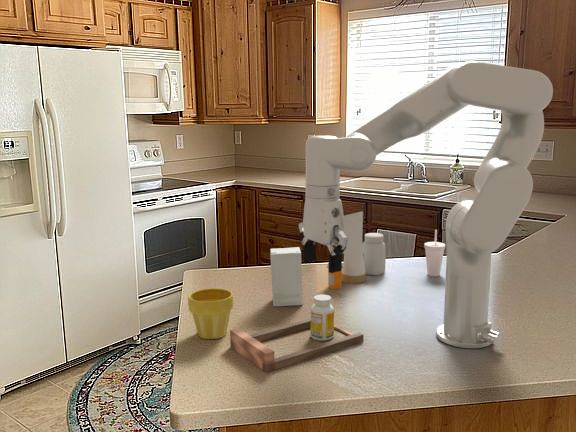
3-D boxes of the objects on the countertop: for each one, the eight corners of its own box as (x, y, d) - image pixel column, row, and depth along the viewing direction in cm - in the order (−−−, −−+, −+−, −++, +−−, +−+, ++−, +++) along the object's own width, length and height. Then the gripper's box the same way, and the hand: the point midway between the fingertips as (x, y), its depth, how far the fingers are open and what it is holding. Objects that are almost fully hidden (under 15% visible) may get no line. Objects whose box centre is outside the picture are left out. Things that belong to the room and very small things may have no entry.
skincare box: (301, 298, 159) (301, 246, 156) (303, 306, 153) (302, 252, 150) (271, 299, 158) (270, 247, 156) (271, 307, 153) (270, 253, 150)
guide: (363, 341, 131) (363, 324, 130) (266, 372, 116) (265, 353, 115) (323, 320, 143) (323, 305, 142) (230, 346, 128) (230, 330, 128)
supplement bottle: (312, 342, 130) (312, 301, 129) (309, 332, 136) (308, 293, 134) (335, 340, 131) (336, 300, 129) (331, 331, 136) (331, 292, 134)
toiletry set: (370, 267, 187) (371, 205, 183) (390, 272, 182) (391, 208, 178) (319, 286, 169) (319, 217, 165) (339, 291, 164) (340, 221, 160)
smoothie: (446, 273, 180) (449, 229, 177) (440, 278, 174) (442, 233, 172) (427, 270, 183) (428, 227, 180) (420, 275, 178) (421, 231, 175)
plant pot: (204, 322, 142) (202, 285, 140) (241, 328, 138) (240, 290, 136) (181, 339, 133) (179, 298, 131) (220, 345, 129) (219, 304, 127)
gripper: (360, 195, 122) (359, 273, 126) (313, 185, 136) (313, 255, 140) (332, 199, 118) (331, 279, 122) (287, 188, 132) (287, 260, 136)
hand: (322, 266), depth 131 cm, fingers open, 9 cm apart
